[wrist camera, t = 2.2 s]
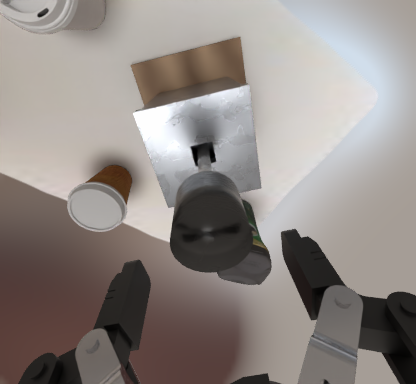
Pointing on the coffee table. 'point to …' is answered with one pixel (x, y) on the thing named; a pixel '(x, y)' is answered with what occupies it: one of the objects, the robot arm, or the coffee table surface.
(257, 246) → the coffee jar
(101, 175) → the disposable coffee cup
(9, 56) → the coffee table surface
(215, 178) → the plunger
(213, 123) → the silver block with slot
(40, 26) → the coffee cup
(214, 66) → the walnut board
